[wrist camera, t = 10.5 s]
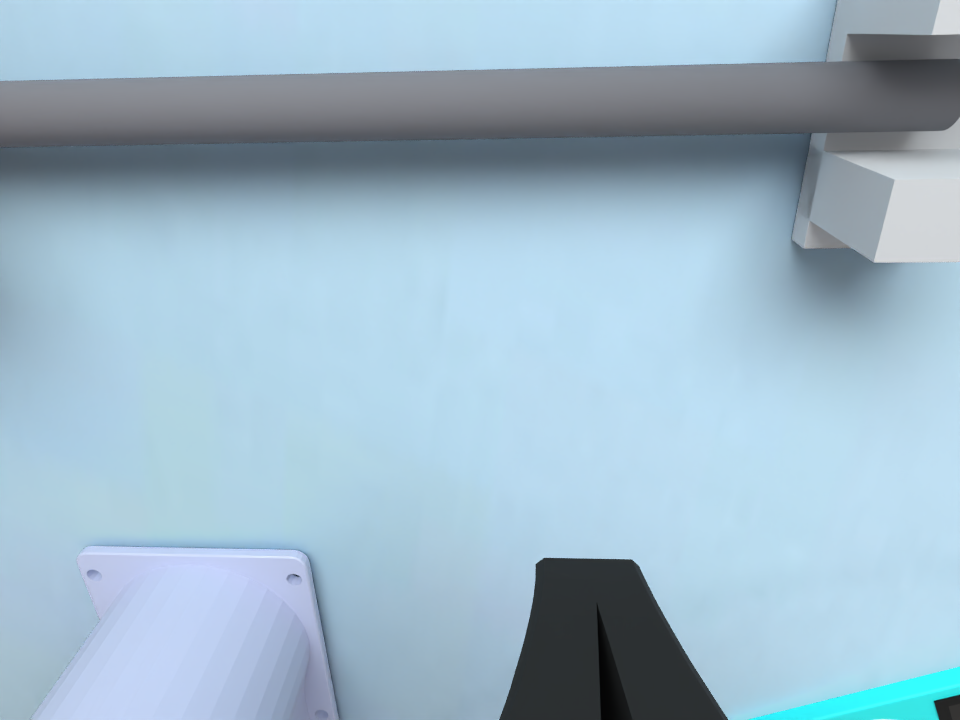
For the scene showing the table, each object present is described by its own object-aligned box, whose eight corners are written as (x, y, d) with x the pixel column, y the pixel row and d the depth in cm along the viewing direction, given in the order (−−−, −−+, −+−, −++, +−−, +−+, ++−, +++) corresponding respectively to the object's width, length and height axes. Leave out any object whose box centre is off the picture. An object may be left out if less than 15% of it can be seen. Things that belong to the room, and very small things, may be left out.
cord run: (1006, -96, 13) (1182, -141, 10) (913, 238, 17) (1021, 295, 13) (-586, -39, 16) (-915, -58, 12) (-401, 249, 19) (-618, 301, 15)
